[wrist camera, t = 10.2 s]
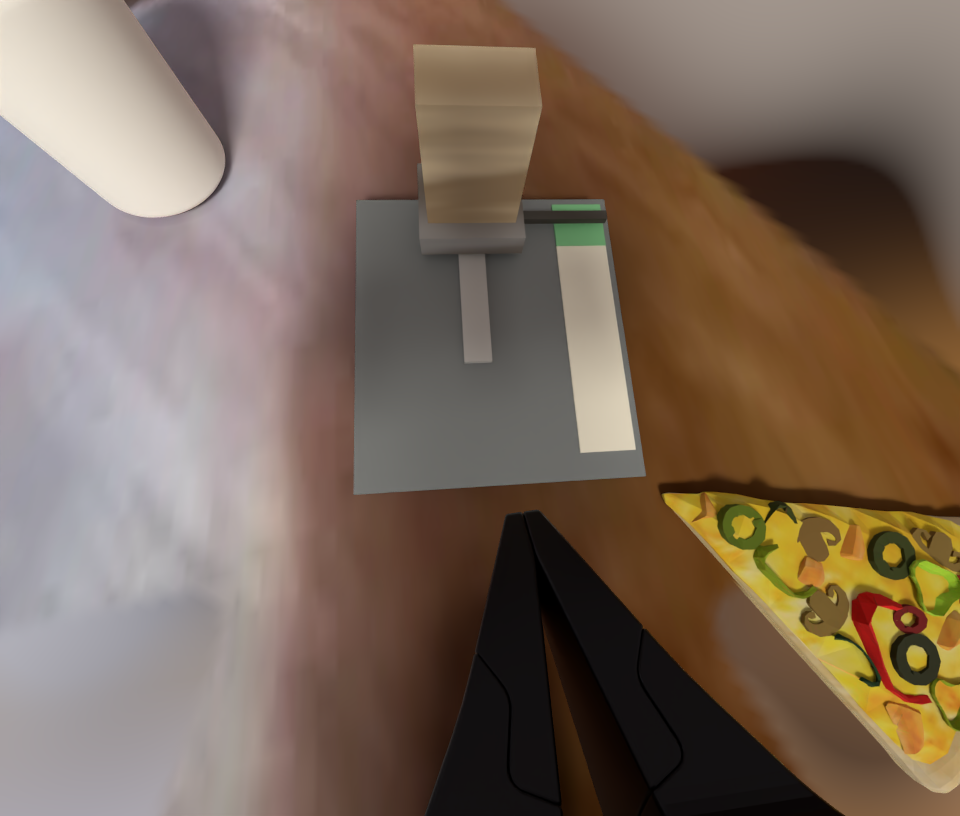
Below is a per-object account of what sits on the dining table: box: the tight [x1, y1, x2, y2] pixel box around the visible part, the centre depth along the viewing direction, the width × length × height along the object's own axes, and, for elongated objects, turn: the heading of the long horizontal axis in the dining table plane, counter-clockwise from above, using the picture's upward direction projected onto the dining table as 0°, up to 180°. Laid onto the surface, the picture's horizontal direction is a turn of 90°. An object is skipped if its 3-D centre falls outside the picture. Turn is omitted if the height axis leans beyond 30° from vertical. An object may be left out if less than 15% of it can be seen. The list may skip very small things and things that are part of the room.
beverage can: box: [0, 0, 225, 218], centre depth 18 cm, size 8×8×12 cm
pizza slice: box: [662, 492, 960, 793], centre depth 21 cm, size 16×21×3 cm
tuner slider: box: [413, 44, 607, 255], centre depth 19 cm, size 5×12×8 cm, turn 93°
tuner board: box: [354, 199, 646, 495], centre depth 22 cm, size 18×16×2 cm
